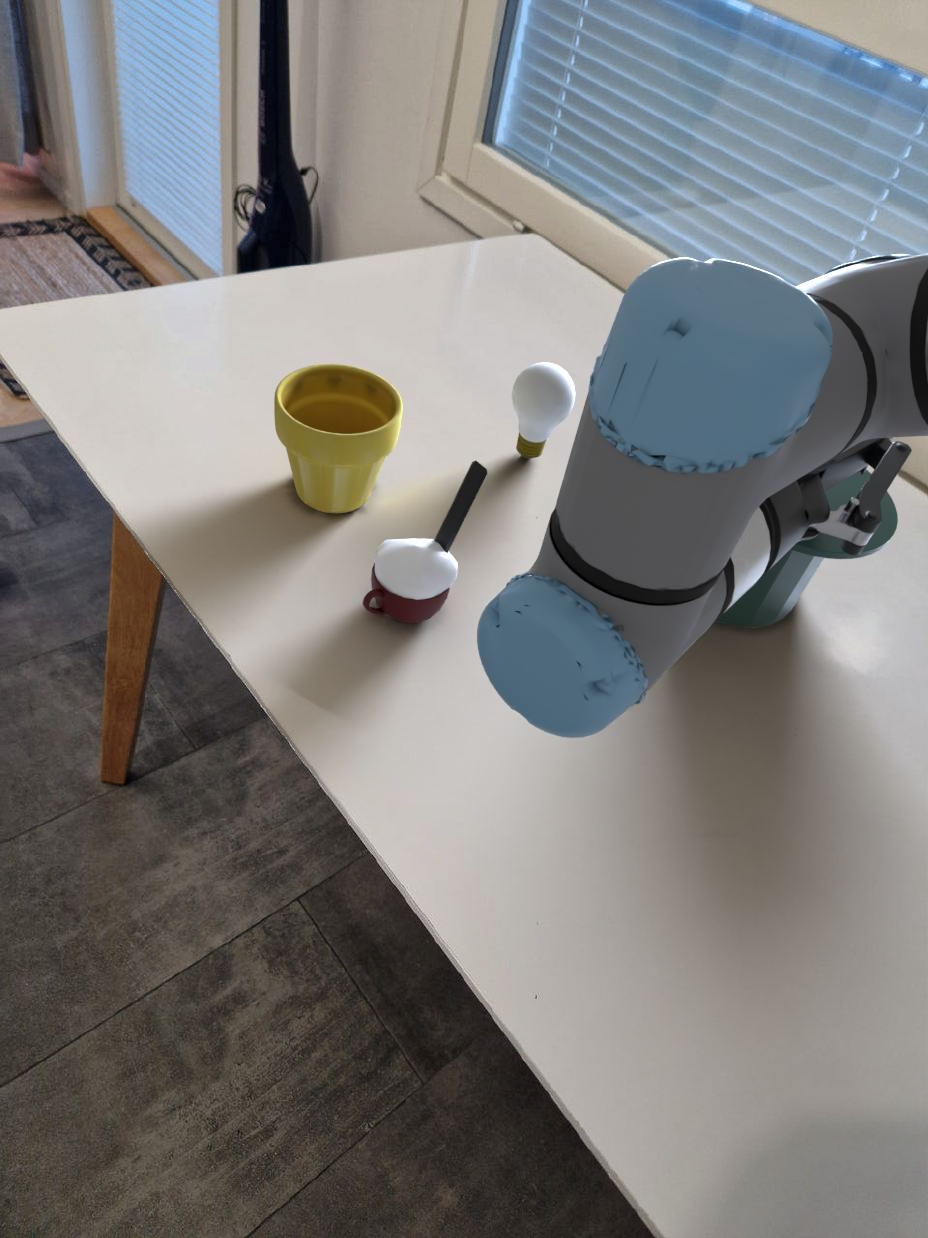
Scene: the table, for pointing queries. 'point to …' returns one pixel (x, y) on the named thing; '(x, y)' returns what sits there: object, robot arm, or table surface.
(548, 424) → the light bulb
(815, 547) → the lid
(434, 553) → the cocoa
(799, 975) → the table surface
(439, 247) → the table surface
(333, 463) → the flower pot
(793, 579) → the canister
